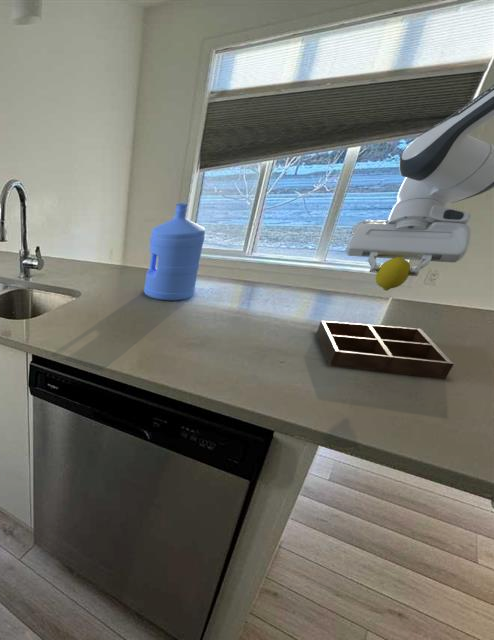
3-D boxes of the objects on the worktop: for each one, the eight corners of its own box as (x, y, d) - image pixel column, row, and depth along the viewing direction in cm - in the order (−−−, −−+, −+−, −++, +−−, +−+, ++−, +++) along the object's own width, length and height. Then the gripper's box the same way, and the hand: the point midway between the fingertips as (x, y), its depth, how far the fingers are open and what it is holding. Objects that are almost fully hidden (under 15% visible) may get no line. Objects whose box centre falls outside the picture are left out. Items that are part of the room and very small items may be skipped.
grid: (413, 342, 94) (420, 328, 92) (445, 379, 80) (454, 363, 79) (316, 333, 102) (320, 320, 100) (329, 365, 88) (335, 351, 87)
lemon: (380, 285, 100) (394, 252, 96) (407, 291, 95) (422, 257, 91) (364, 289, 99) (377, 256, 95) (390, 295, 94) (405, 261, 90)
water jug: (200, 290, 136) (217, 200, 122) (184, 304, 127) (201, 208, 113) (154, 284, 146) (165, 200, 132) (136, 297, 136) (146, 207, 122)
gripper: (358, 212, 99) (338, 261, 98) (482, 213, 87) (461, 270, 86) (353, 227, 104) (334, 275, 103) (470, 231, 92) (450, 285, 91)
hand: (393, 273), depth 94 cm, fingers closed on lemon, 5 cm apart
